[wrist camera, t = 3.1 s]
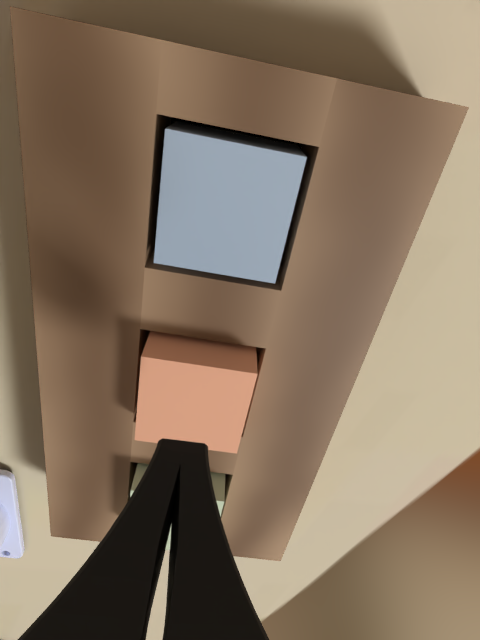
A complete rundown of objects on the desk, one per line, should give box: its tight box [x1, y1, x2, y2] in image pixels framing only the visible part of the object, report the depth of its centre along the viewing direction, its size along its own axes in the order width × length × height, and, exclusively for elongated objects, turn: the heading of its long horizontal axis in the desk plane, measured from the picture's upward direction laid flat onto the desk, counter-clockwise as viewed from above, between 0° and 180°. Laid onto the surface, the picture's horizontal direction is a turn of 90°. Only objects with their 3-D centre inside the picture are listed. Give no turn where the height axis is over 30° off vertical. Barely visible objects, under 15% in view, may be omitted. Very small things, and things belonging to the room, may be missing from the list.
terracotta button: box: [135, 331, 258, 454], centre depth 16 cm, size 4×4×2 cm
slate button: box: [154, 121, 307, 284], centre depth 13 cm, size 4×4×2 cm
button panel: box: [10, 6, 469, 561], centre depth 17 cm, size 12×22×3 cm, turn 169°
